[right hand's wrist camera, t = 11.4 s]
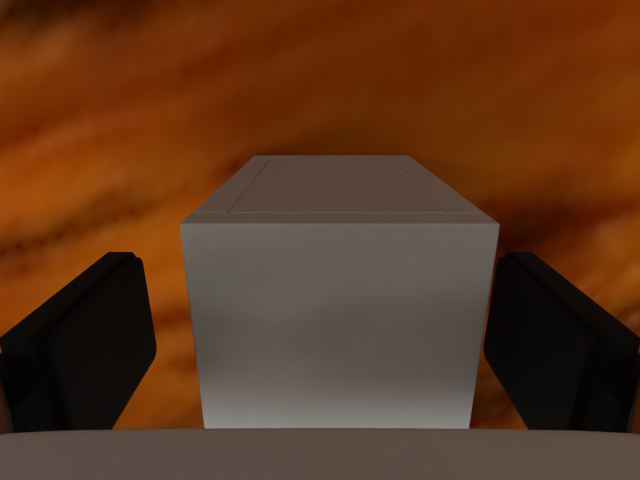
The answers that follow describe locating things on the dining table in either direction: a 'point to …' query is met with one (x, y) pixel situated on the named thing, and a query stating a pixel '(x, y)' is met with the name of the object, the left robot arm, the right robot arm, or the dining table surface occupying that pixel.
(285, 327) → the cabinet
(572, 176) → the dining table surface
